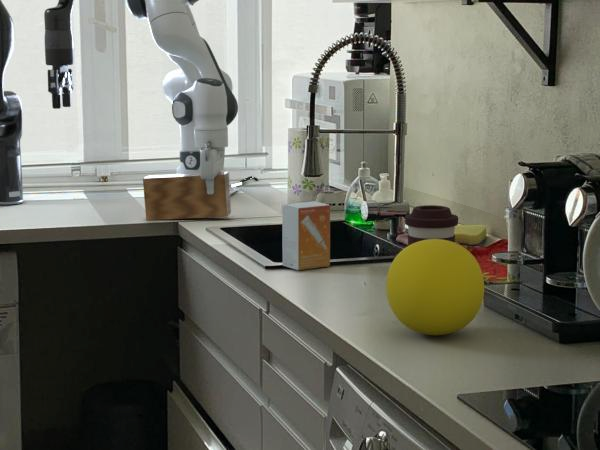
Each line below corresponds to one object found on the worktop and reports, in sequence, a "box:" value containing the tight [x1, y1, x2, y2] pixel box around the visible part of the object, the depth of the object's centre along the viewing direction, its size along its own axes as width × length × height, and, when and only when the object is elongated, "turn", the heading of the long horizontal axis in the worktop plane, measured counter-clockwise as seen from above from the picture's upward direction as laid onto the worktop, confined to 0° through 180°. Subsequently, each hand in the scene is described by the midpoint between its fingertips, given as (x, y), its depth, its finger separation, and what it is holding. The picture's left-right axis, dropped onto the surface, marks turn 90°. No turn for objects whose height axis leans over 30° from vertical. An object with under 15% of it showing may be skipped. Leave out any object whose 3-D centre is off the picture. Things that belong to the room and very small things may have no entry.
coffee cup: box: [404, 204, 459, 246], centre depth 197 cm, size 10×10×15 cm
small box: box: [281, 200, 331, 271], centre depth 216 cm, size 8×6×13 cm
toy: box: [385, 239, 485, 336], centre depth 164 cm, size 15×15×15 cm
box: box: [142, 171, 232, 221], centre depth 280 cm, size 22×6×11 cm, turn 85°
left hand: (62, 107), depth 285 cm, fingers open, 8 cm apart
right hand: (212, 192), depth 279 cm, fingers closed on box, 6 cm apart
